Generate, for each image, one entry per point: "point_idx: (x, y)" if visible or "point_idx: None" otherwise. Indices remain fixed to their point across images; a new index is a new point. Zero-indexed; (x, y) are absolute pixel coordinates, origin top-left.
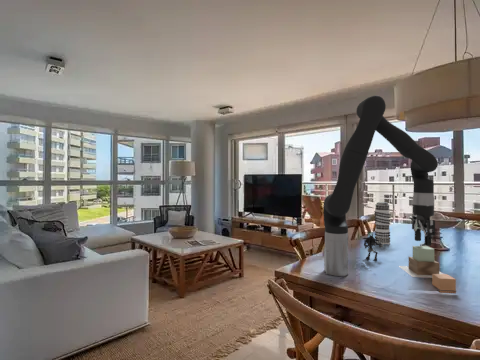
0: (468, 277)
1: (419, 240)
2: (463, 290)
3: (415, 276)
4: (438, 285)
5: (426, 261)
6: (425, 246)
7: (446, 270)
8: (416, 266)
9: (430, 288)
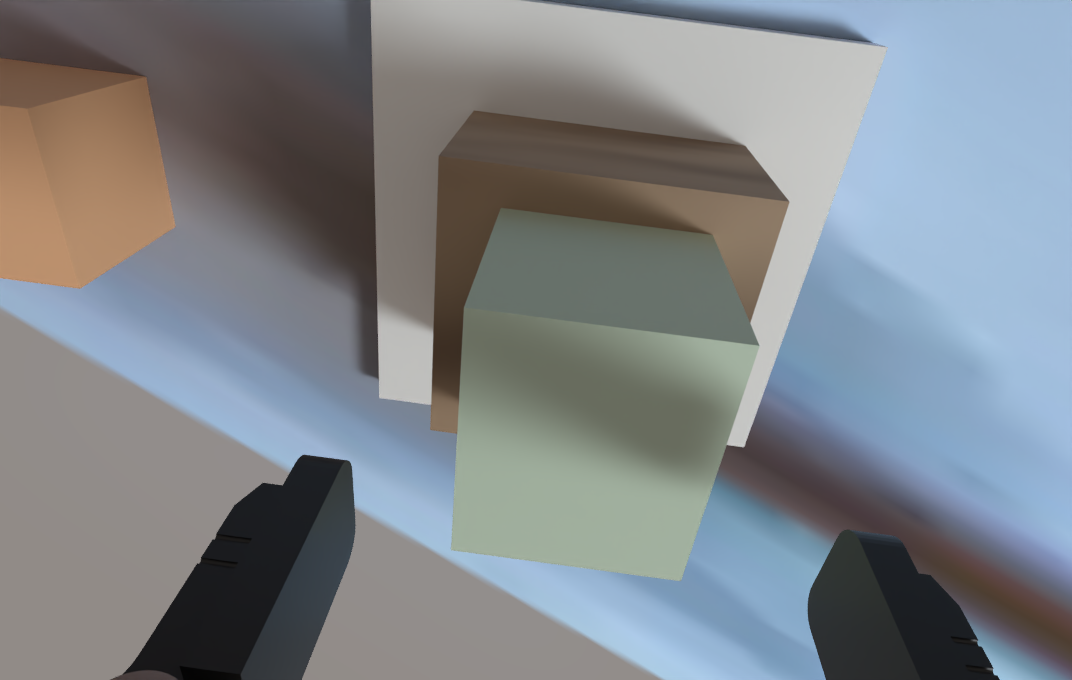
0: None
1: (819, 593)
2: (151, 324)
3: (393, 37)
4: None
5: None
6: (677, 543)
7: None
8: (483, 139)
9: (93, 27)
